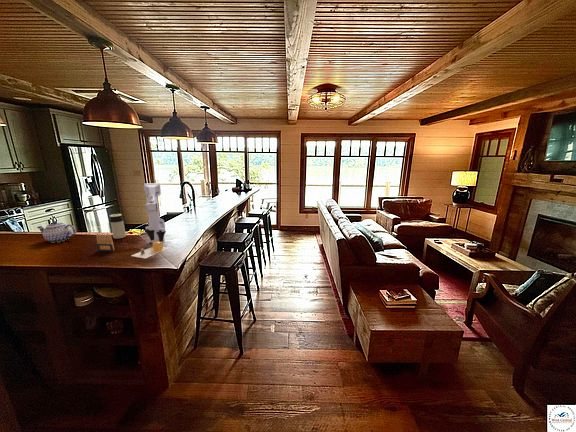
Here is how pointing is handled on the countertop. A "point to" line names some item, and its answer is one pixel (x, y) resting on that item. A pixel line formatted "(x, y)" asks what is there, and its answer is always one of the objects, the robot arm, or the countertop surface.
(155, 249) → the cupcake
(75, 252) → the countertop surface
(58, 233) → the teapot
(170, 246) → the countertop surface
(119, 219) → the travel mug
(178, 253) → the countertop surface
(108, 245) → the tan upright slab
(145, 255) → the mounting plate
